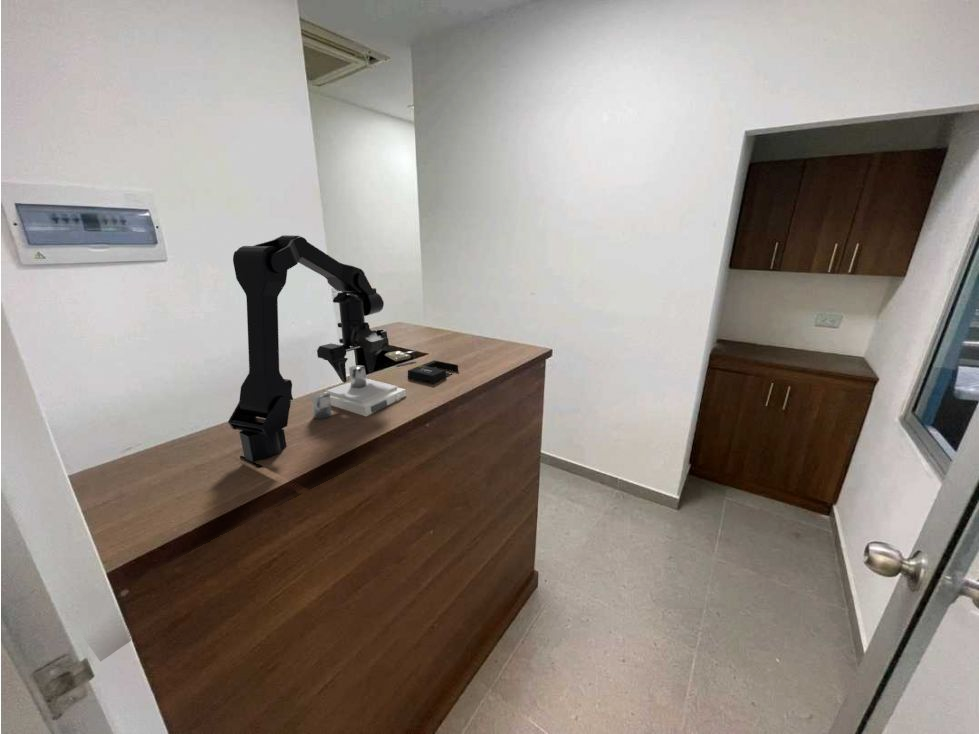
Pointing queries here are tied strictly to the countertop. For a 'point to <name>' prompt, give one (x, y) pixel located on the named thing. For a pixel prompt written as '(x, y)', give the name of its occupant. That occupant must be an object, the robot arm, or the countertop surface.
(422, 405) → the countertop surface
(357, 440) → the countertop surface
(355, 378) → the spacer
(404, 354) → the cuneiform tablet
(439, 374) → the battery charger
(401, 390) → the scale
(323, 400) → the spacer
